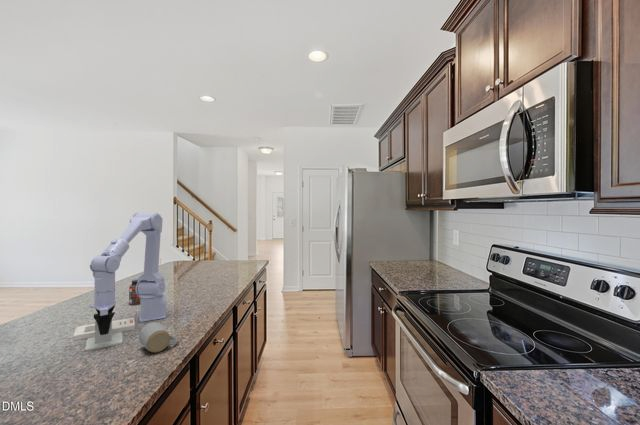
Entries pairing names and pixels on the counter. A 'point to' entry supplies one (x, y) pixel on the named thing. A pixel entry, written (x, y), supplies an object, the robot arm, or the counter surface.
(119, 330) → the power strip
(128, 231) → the robot arm
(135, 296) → the supplement bottle
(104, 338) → the block
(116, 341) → the pad
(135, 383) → the counter surface
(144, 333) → the ceramic mug
